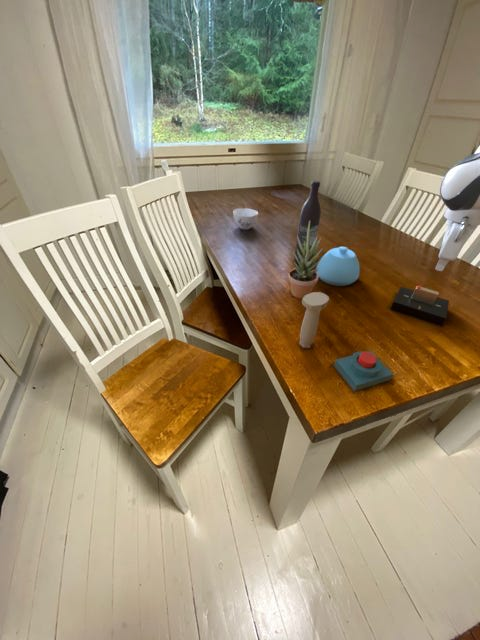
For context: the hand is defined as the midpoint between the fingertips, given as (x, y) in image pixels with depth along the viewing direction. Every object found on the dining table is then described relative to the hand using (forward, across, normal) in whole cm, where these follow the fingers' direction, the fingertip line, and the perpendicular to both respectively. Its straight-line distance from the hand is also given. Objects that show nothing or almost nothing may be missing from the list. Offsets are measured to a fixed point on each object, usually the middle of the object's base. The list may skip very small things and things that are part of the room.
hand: (440, 262), depth 76 cm
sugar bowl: (+16, +4, +28) cm, 32 cm away
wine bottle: (+16, +7, +43) cm, 46 cm away
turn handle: (+13, 0, 0) cm, 13 cm away
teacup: (+17, +28, +84) cm, 90 cm away
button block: (+16, -37, +7) cm, 41 cm away
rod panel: (+16, 0, 0) cm, 16 cm away
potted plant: (+16, -14, +34) cm, 40 cm away
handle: (+16, -36, +22) cm, 45 cm away
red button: (+12, -37, +7) cm, 39 cm away
